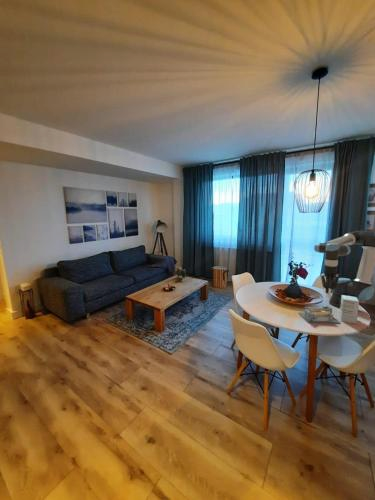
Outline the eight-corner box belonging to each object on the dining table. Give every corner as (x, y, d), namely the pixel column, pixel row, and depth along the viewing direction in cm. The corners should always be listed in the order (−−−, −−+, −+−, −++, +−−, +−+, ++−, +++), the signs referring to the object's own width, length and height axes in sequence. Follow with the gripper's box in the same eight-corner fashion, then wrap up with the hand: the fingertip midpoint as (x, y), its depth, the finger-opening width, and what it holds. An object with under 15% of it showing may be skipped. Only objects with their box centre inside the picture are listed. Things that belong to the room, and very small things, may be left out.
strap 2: (310, 316, 149) (310, 314, 148) (308, 313, 152) (308, 312, 152) (331, 315, 147) (331, 313, 147) (328, 313, 150) (329, 311, 150)
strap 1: (326, 309, 158) (326, 308, 158) (328, 311, 155) (328, 309, 155) (306, 307, 159) (306, 306, 159) (308, 309, 156) (308, 308, 156)
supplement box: (339, 315, 157) (341, 294, 155) (354, 318, 153) (356, 296, 150) (340, 321, 149) (342, 299, 147) (356, 324, 145) (359, 301, 142)
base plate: (327, 313, 161) (328, 304, 159) (340, 323, 146) (341, 313, 145) (298, 313, 162) (298, 304, 161) (307, 322, 148) (308, 313, 146)
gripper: (337, 264, 147) (334, 295, 150) (318, 264, 148) (315, 295, 151) (344, 266, 139) (341, 299, 143) (324, 266, 140) (321, 299, 144)
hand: (328, 297), depth 147 cm, fingers closed
